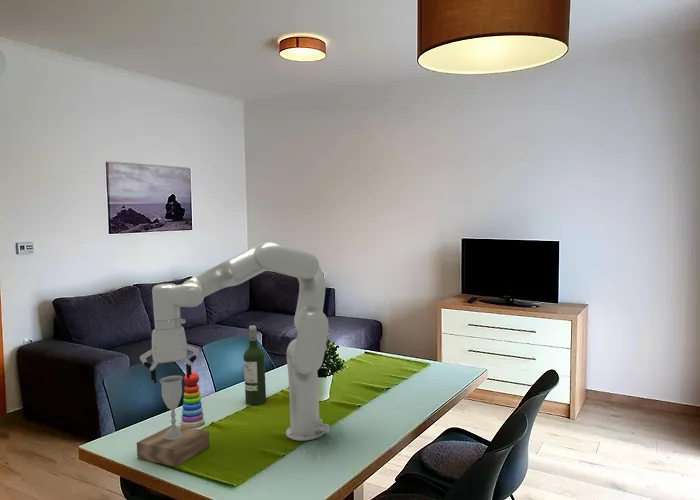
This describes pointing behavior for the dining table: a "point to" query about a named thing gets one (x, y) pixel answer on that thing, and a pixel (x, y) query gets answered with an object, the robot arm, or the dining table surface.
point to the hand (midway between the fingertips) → (171, 379)
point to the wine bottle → (254, 371)
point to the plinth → (173, 446)
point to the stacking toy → (192, 403)
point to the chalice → (172, 401)
